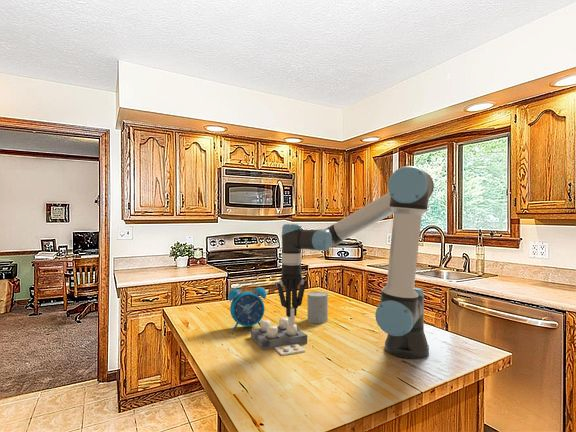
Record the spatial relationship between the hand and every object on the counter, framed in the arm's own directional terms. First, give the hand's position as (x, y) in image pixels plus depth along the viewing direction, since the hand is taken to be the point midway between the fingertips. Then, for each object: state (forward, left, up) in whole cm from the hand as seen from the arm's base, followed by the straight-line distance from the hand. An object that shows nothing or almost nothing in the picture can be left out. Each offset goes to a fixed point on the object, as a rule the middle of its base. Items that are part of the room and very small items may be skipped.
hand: (291, 324), depth 136 cm
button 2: (0, +8, -4) cm, 9 cm away
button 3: (+8, 0, -4) cm, 9 cm away
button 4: (0, 0, -4) cm, 4 cm away
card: (-8, +4, -7) cm, 11 cm away
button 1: (+8, +8, -4) cm, 12 cm away
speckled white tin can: (+21, -22, -7) cm, 31 cm away
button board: (+4, +4, -7) cm, 9 cm away
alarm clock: (+23, +11, -7) cm, 26 cm away
